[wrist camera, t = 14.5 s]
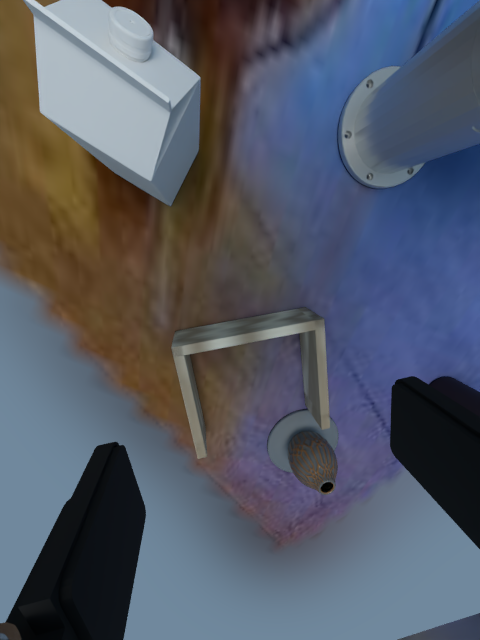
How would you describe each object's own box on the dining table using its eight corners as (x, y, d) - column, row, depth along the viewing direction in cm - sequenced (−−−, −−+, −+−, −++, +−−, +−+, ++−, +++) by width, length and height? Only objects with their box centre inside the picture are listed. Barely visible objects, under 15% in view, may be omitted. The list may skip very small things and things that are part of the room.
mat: (335, 402, 44) (336, 404, 44) (337, 460, 48) (339, 463, 47) (263, 418, 43) (264, 420, 42) (271, 477, 46) (272, 480, 46)
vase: (287, 422, 43) (309, 466, 35) (327, 425, 44) (357, 467, 36) (278, 458, 45) (297, 508, 36) (317, 459, 46) (343, 508, 38)
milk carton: (170, 207, 33) (138, 167, 15) (112, 171, 31) (-8, 74, 13) (199, 150, 31) (203, 29, 13) (140, 109, 29) (51, -97, 11)
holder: (305, 307, 39) (324, 318, 33) (312, 403, 43) (330, 427, 38) (175, 331, 37) (171, 347, 31) (197, 428, 42) (197, 458, 36)
